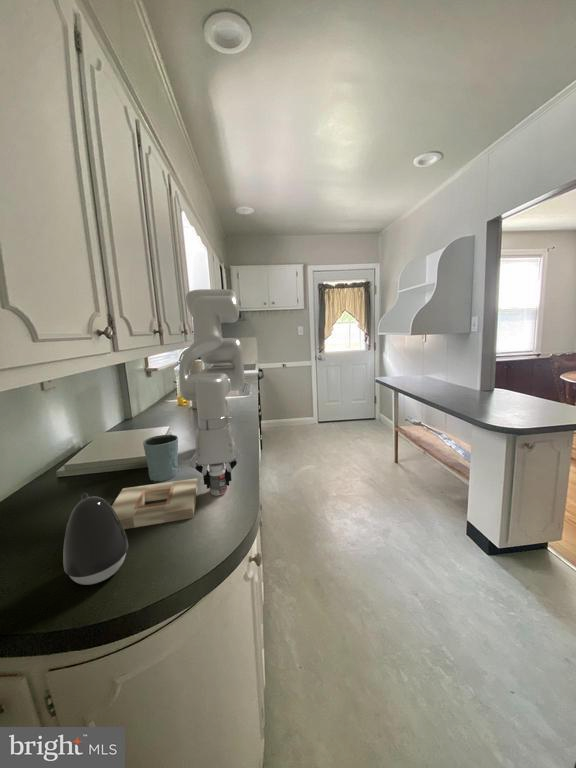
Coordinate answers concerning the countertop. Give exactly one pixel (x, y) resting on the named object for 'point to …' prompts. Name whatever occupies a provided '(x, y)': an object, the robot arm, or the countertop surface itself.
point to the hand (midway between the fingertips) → (218, 484)
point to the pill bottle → (217, 479)
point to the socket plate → (139, 514)
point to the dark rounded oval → (93, 541)
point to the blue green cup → (162, 457)
